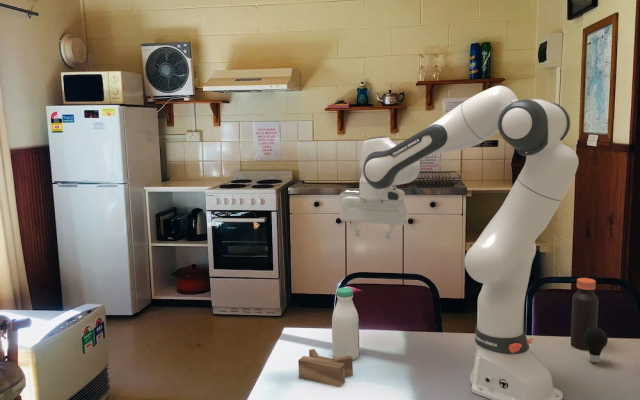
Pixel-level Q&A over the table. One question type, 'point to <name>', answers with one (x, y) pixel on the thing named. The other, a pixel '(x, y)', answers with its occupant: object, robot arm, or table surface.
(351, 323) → the milk bottle
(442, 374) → the table surface
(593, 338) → the light bulb
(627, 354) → the table surface
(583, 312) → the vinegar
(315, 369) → the cradle
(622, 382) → the table surface
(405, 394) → the table surface
